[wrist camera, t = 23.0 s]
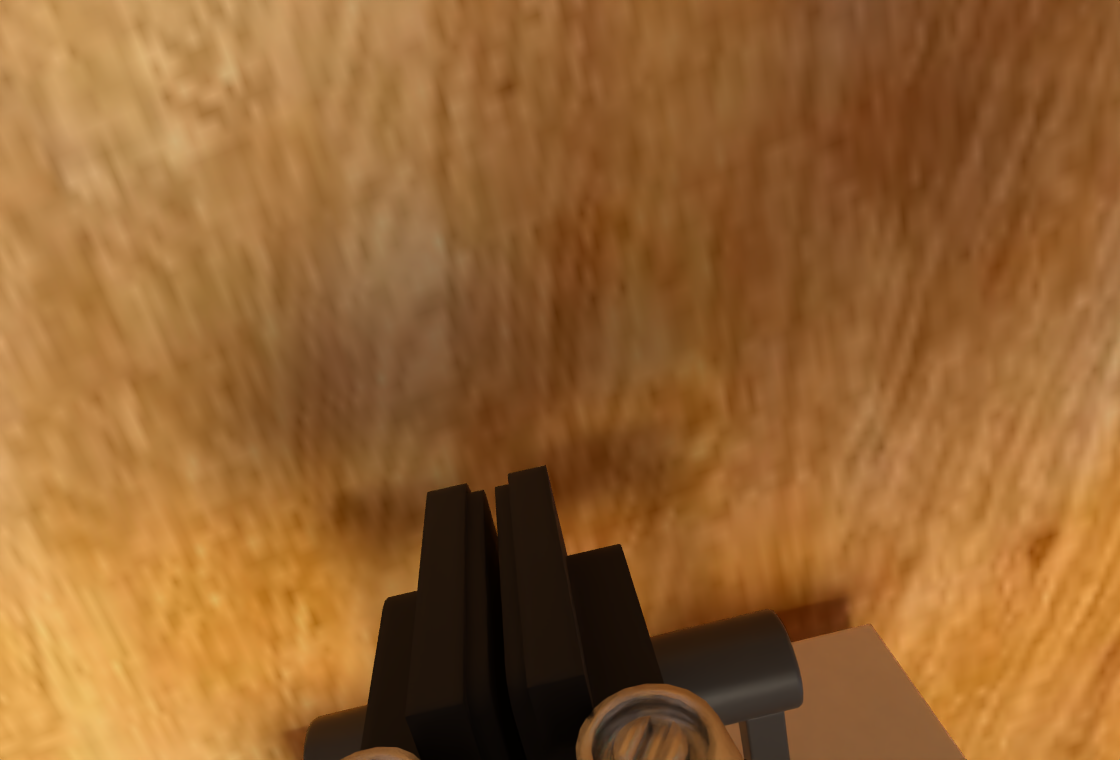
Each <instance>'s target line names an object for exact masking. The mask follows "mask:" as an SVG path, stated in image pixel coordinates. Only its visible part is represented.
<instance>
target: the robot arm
mask: <svg viewBox="0 0 1120 760" xmlns="http://www.w3.org/2000/svg"><path fill="white" fill-rule="evenodd" d="M508 483H509V484H507V485H503V486H498V487H495V498H496V515H497V533H498V536H497V533H496V529H495V526H494V522H493V518H492V515H491V511H490V508H489V504H488V500H487V497H486V494H485V492H484V490H481V491H476V492H472V493H471V491H470V489H469V486H468V485H467V483H465V484H461V485H457V486H452V487H448V488H444V489H439V490H435V491H430V492H428V493H427V499H426V509H425V519H424V529H423V539H422V549H421V559H420V569H419V579H418V589H417V591H414V592H410V593H405V594H401V595H397V596H392V597H388V598H387V599H386V600H385V603H384V606H383V610H382V617H381V623H380V629H379V636H378V642H377V648H376V655H375V661H374V667H373V673H372V680H371V686H370V692H369V699H368V705H367V711H366V717H365V724H364V730H363V736H362V743H361V749H360V751H358V752H355V753H353V754H351V755H349V756H347V757H345V758H343V759H341V760H746V759H744V758H743V757H742V755H741V753H740V751H739V750H738V748H737V746H736V745H735V743H734V741H733V740H732V738H731V736H730V735H729V733H728V731H727V729H726V728H725V726H724V724H723V723H722V721H721V719H720V718H719V716H718V715H717V714H716V712H715V711H714V710H713V709H712V708H711V706H710V705H709V704H708V703H707V702H706V701H705V700H704V699H702V698H701V697H699V696H697V695H696V694H694V693H692V692H691V691H689V690H687V689H684V688H680V687H676V686H673V685H669V684H664V681H663V678H662V675H661V671H660V668H659V665H658V662H657V659H656V655H655V652H654V649H653V646H652V642H651V639H650V636H649V633H648V630H647V626H646V623H645V620H644V617H643V614H642V610H641V607H640V604H639V601H638V597H637V594H636V591H635V588H634V585H633V581H632V578H631V575H630V572H629V569H628V565H627V562H626V559H625V556H624V553H623V550H622V547H621V545H620V544H617V545H612V546H608V547H604V548H599V549H595V550H591V551H587V552H582V553H578V554H574V555H569V556H567V552H566V548H565V544H564V539H563V535H562V531H561V527H560V523H559V518H558V514H557V510H556V506H555V501H554V497H553V493H552V489H551V484H550V480H549V476H548V472H547V468H546V465H544V466H540V467H535V468H531V469H527V470H522V471H518V472H514V473H509V474H508Z"/></svg>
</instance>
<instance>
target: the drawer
mask: <svg viewBox="0 0 1120 760" xmlns="http://www.w3.org/2000/svg"><path fill="white" fill-rule="evenodd" d="M650 639H651V642H652V646H653V649H654V652H655V655H656V659H657V662H658V665H659V668H660V671H661V675H662V678H663V681H664V684H669V685H673V686H676V687H680V688H684V689H687V690H689V691H691V692H692V693H694V694H696V695H697V696H699V697H701V698H702V699H704V700H705V701H706V702H707V703H708V704H709V705H710V706H711V708H712V709H713V710H714V711H715V712H716V714H717V715H718V716H719V718H720V719H721V721H722V723H723V724H724V726H725V728H726V729H727V731H728V733H729V735H730V736H731V738H732V740H733V741H734V743H735V745H736V746H737V748H738V750H739V751H740V753H741V755H742V757H743V758H744V759H746V760H967V759H966V758H965V757H964V755H963V754H962V752H961V751H960V749H959V748H958V747H957V745H956V744H955V742H954V741H953V740H952V738H951V737H950V735H949V734H948V732H947V731H946V730H945V728H944V727H943V725H942V724H941V723H940V721H939V720H938V718H937V717H936V715H935V714H934V713H933V711H932V710H931V708H930V707H929V706H928V704H927V703H926V701H925V700H924V699H923V697H922V696H921V694H920V693H919V691H918V690H917V689H916V687H915V686H914V684H913V683H912V682H911V680H910V679H909V677H908V676H907V674H906V673H905V672H904V670H903V669H902V667H901V666H900V665H899V663H898V662H897V660H896V659H895V657H894V656H893V655H892V653H891V652H890V650H889V649H888V648H887V646H886V645H885V643H884V642H883V641H882V639H881V638H880V636H879V635H878V633H877V632H876V631H875V629H874V628H873V626H872V625H871V624H866V625H862V626H857V627H853V628H849V629H845V630H841V631H837V632H832V633H828V634H824V635H820V636H816V637H812V638H808V639H803V640H799V641H795V642H791V641H790V638H789V636H788V633H787V631H786V629H785V627H784V625H783V623H782V622H781V620H780V619H779V617H778V616H777V614H776V613H775V612H774V611H773V610H769V609H765V610H761V611H757V612H753V613H748V614H744V615H740V616H736V617H732V618H728V619H723V620H719V621H715V622H711V623H707V624H703V625H698V626H694V627H690V628H686V629H682V630H678V631H673V632H669V633H665V634H661V635H657V636H653V637H650ZM366 711H367V705H365V706H361V707H357V708H353V709H348V710H344V711H340V712H336V713H332V714H328V715H323V716H320V717H318V718H316V719H315V720H313V721H312V723H311V724H310V726H309V728H308V730H307V734H306V738H305V744H304V755H303V760H341V759H343V758H345V757H347V756H349V755H351V754H353V753H355V752H358V751H360V749H361V743H362V736H363V730H364V724H365V717H366Z"/></svg>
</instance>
